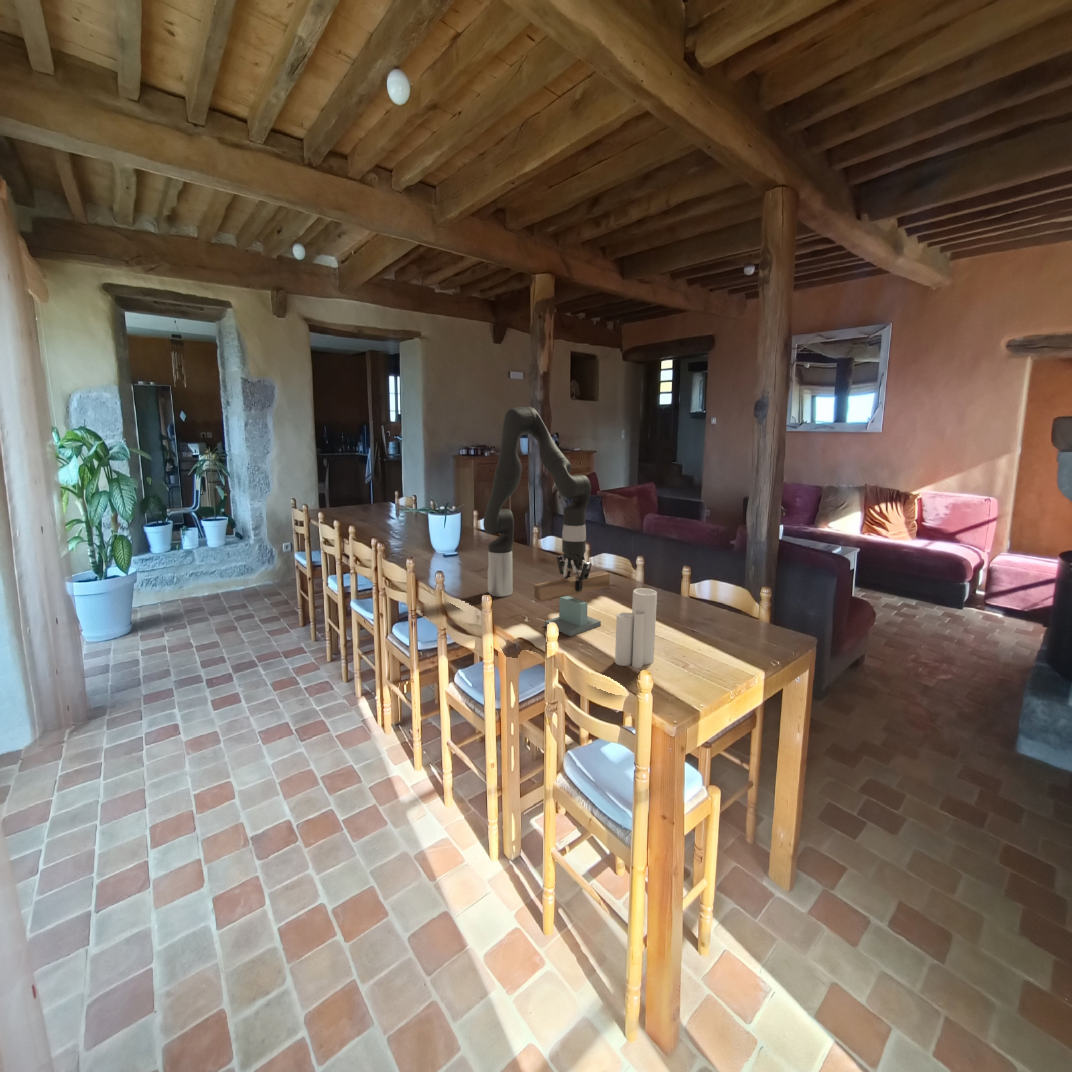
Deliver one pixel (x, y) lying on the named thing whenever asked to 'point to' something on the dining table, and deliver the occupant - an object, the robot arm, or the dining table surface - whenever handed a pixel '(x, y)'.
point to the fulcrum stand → (573, 617)
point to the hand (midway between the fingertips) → (573, 589)
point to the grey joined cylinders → (637, 630)
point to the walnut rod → (570, 586)
